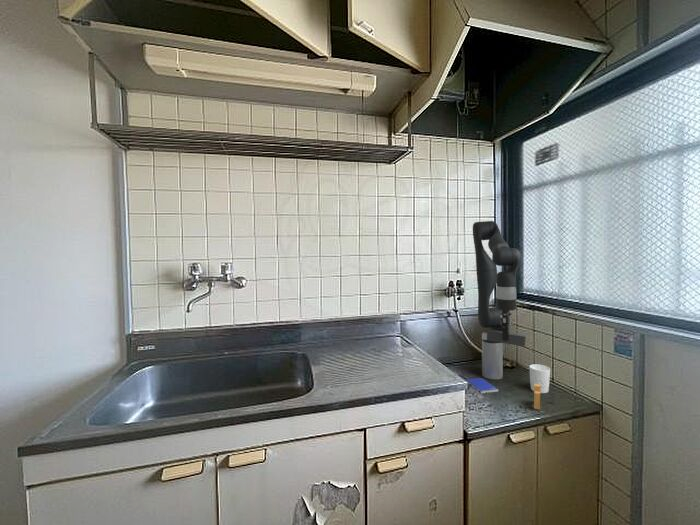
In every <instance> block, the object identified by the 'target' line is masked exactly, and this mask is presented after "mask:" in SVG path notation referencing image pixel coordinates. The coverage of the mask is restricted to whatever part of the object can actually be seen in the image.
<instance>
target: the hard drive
mask: <svg viewBox="0 0 700 525" xmlns="http://www.w3.org/2000/svg"><path fill="white" fill-rule="evenodd" d="M466 381H468V382H469V383H468V385H470V384H471V385H472V386H471V385H470V386H471V387H473V388H474V389H475V388H476V389H475V390H477V391H478V392H479V391H480V392H479V393H481V394H485V393H486V392H487V393H495V392H499V389H498V387H496V386H494V385H493V384H491V383H489V382H488V381H486V380H485V379H484V378H481V377H480V378H479V377H478V378H470V379H466ZM487 393H486V394H487Z"/></svg>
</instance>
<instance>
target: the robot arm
mask: <svg viewBox="0 0 700 525" xmlns="http://www.w3.org/2000/svg"><path fill="white" fill-rule="evenodd" d="M472 238H473V243H474V244H473V245H474V252H475V268H476V269H475V271H476V282H477V291H478V292H477V293H478V294H477V296H478V299H477V303H478V304H477V318H478V323H479V325H480V326H481V327H482V328H484V329H486V328H488V329H490V330H497V331H502V339H503V340H504V341H508V340H509V332H510V329H511V324H512V316H513V315H512V313H511V311H515V310H517V273H518V269H519V266H520V262H521V260H522V253H521V251H520V250H519V249H517V248H515V247H511V248H510V246H509V244H508V243H507V241H505V239H504V238H503V235H502V233H501V231H500V228H499V226H498V224H497V223H496V222H495V221H493V220H486V221H485V220H482V221H475V222H473V224H472ZM483 241H488V243H487V245H488V246H487V247H488V249H489V250H490V252H491V254H492V257H491V256H490V255H489V254H488V253H487V251H486V249H485V248H484V246H483ZM497 266H499V267H502V266H503V267H505V266H508V268H507V269H506V270H502V271H498V269H497ZM495 288H496V289H495ZM494 290H495V307H490V300H491V295H492V293H493V292H494ZM485 333H487V331H485ZM503 344H504V343H500V342H494V341H488V340H483V339H482V338H481V376H482V377H484V378H486V379H489V380H501V379H503V374H504V373H503V371H504V370H503V368H504V367H503V360H504V356H503V354H504V351H503V350H504V346H503Z"/></svg>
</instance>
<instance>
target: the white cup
mask: <svg viewBox="0 0 700 525" xmlns="http://www.w3.org/2000/svg"><path fill="white" fill-rule="evenodd" d="M550 377H551V368H550V367H549V366H547V365H543V364H536V363H535V364H530V365H529V381H530V382H529V384H530V389H531V390H532V391H533V392H534V384H540V394H548V392H549V391H550V390H549V389H550V380H551V378H550Z"/></svg>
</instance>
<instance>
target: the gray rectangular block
mask: <svg viewBox="0 0 700 525" xmlns="http://www.w3.org/2000/svg"><path fill="white" fill-rule="evenodd" d="M490 329H491V328H488V329H487V331H486V332H487V333H486V332H482V333H481V340H482V339H483V340H488V341H494V342H500V343H503V344H506V345H514V346H519V347H526V335H527V334H522V333H518V332H517V333H515V332H511V331H509V340H508V341H504V340H503V339H502V331H497V330H490Z"/></svg>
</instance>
